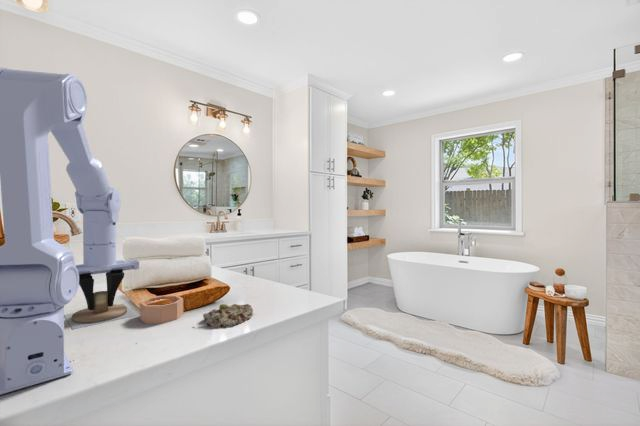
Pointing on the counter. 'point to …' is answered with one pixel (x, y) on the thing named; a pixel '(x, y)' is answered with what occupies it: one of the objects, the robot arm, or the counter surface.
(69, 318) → the mat
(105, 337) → the counter surface
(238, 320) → the mineral rock
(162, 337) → the counter surface
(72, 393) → the counter surface
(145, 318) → the bowl
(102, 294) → the lid
